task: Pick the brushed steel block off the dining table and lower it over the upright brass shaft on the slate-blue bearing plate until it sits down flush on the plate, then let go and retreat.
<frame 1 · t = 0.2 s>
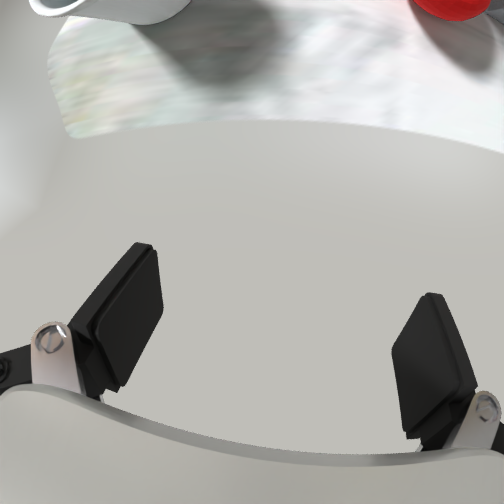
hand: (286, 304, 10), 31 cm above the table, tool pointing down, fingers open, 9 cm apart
brushed steel block: (500, 6, 17), on the table
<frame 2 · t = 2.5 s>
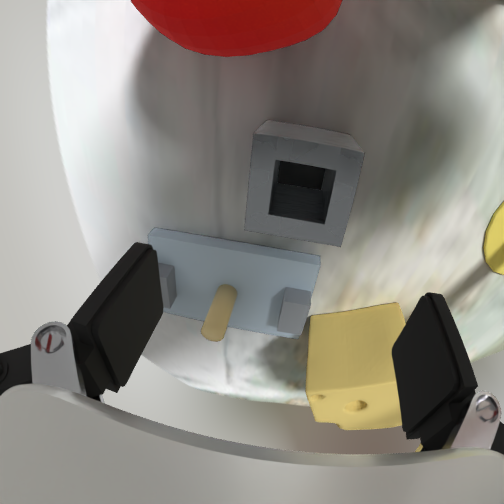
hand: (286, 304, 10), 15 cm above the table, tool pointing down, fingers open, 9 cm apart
tomato: (256, 1, 16), on the table
cheese: (357, 335, 32), on the table
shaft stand: (230, 282, 30), on the table
brushed steel block: (302, 165, 22), on the table
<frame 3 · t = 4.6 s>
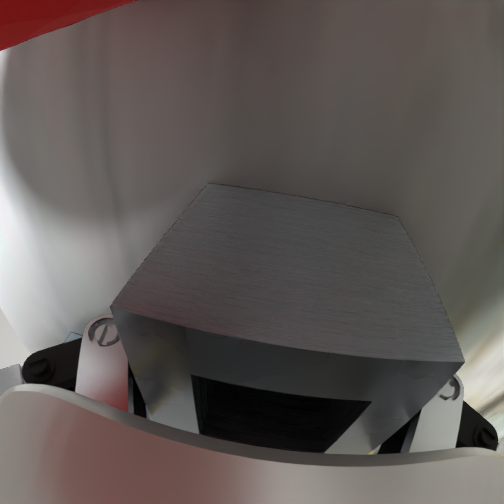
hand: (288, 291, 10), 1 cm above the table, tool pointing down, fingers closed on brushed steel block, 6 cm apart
brushed steel block: (289, 276, 11), on the table, touching gripper
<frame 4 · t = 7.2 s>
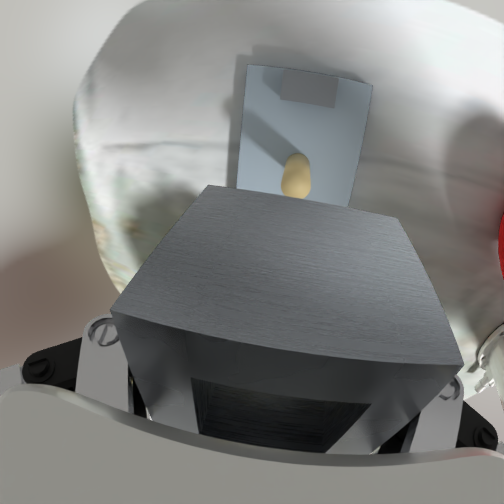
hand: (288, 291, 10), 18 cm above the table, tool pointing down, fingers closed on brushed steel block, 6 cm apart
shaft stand: (298, 160, 25), on the table
brushed steel block: (289, 278, 11), point 17 cm above the table, touching gripper
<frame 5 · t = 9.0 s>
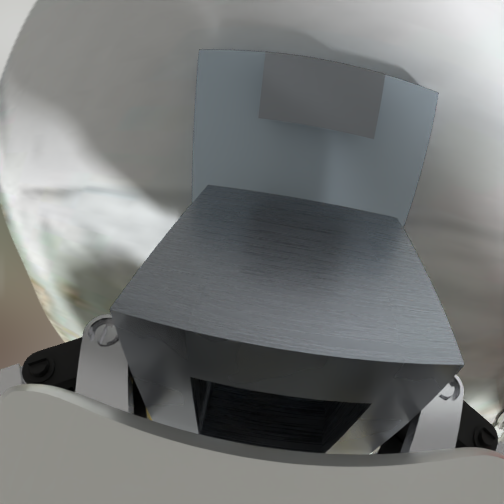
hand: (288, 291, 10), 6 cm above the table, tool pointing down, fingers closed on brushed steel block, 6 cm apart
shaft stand: (296, 221, 15), on the table
brushed steel block: (289, 278, 11), point 5 cm above the table, touching gripper
when the fingers open (4 cm above the table, at t = 10.1 s): brushed steel block drops 2 cm, resting on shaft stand.
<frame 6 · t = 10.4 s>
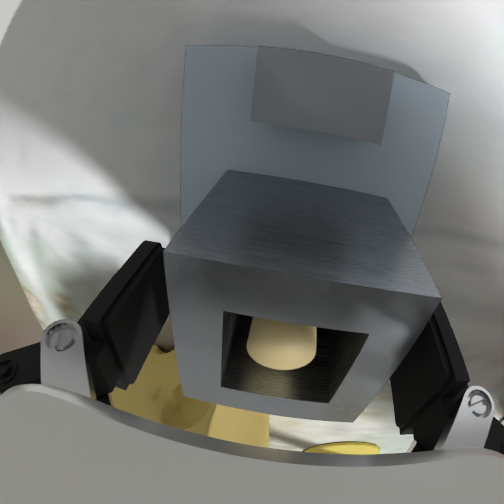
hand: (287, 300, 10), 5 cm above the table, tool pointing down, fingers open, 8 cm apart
yellow disc stand: (340, 453, 29), on the table
cheese: (200, 378, 23), on the table
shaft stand: (293, 232, 14), on the table
brushed steel block: (296, 251, 13), point 1 cm above the table, touching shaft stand
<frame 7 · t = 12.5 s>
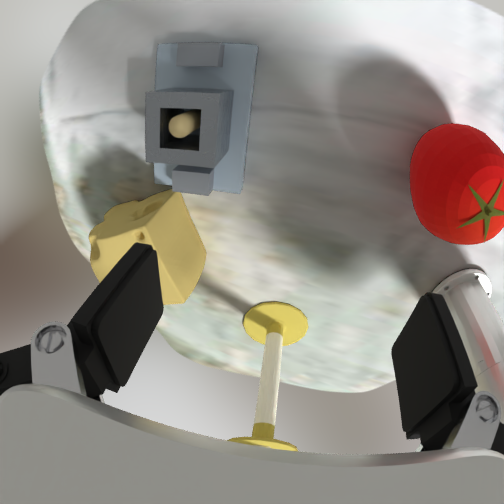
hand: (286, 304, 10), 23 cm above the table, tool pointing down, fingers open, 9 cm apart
yellow disc stand: (275, 324, 45), on the table
tomato: (433, 160, 27), on the table
cheese: (162, 228, 37), on the table
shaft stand: (202, 115, 28), on the table
brushed steel block: (200, 118, 27), point 1 cm above the table, touching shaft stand
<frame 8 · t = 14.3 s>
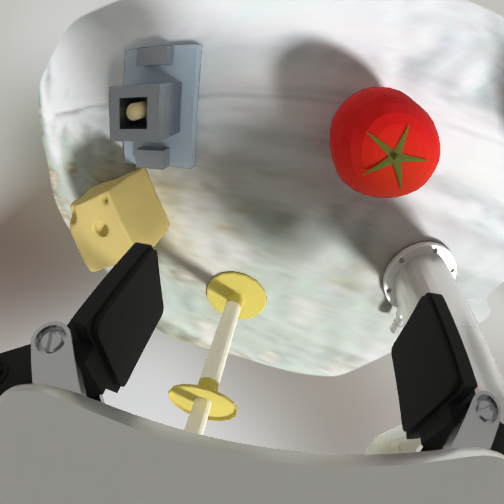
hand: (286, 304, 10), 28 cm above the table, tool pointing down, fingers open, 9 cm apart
yellow disc stand: (236, 295, 48), on the table
tomato: (368, 130, 31), on the table
cheese: (134, 203, 42), on the table
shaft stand: (161, 105, 33), on the table
brushed steel block: (157, 106, 32), point 1 cm above the table, touching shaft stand
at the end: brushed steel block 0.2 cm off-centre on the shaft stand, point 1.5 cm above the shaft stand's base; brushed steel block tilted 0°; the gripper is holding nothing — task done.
